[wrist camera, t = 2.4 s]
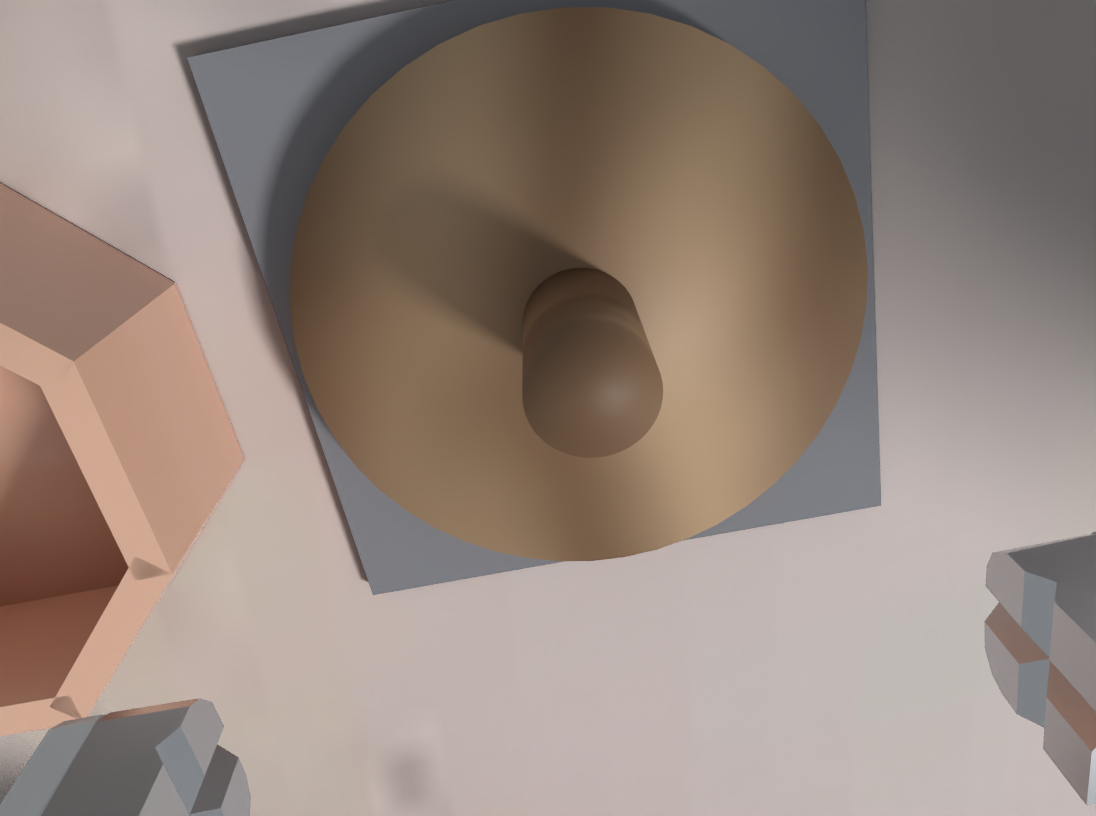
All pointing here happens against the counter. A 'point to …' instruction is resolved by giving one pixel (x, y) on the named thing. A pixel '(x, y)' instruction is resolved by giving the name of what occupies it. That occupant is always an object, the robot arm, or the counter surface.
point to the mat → (399, 38)
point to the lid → (578, 284)
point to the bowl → (92, 458)
